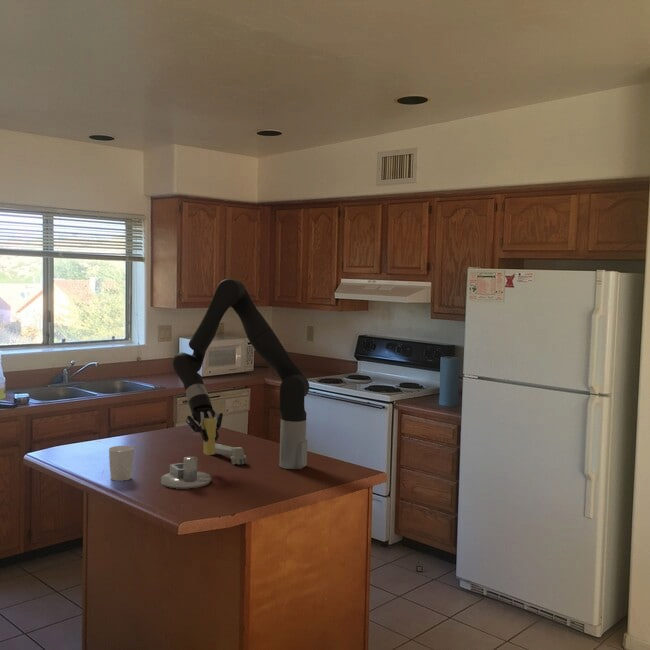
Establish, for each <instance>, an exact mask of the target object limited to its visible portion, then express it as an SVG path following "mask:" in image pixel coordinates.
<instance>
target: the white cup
mask: <svg viewBox="0 0 650 650" xmlns="http://www.w3.org/2000/svg"><path fill="white" fill-rule="evenodd" d="M108 455H109V456H108V459H109V472H110V475H109V476H110V480H111V479H112V480H111V481H114V480H115V482H124V480H125V481H130V480H131V479H132V478H133V477H132V476H133V468H134V455H135V447H133V446H130V445H115V446H111V447H109V449H108Z"/></svg>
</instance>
